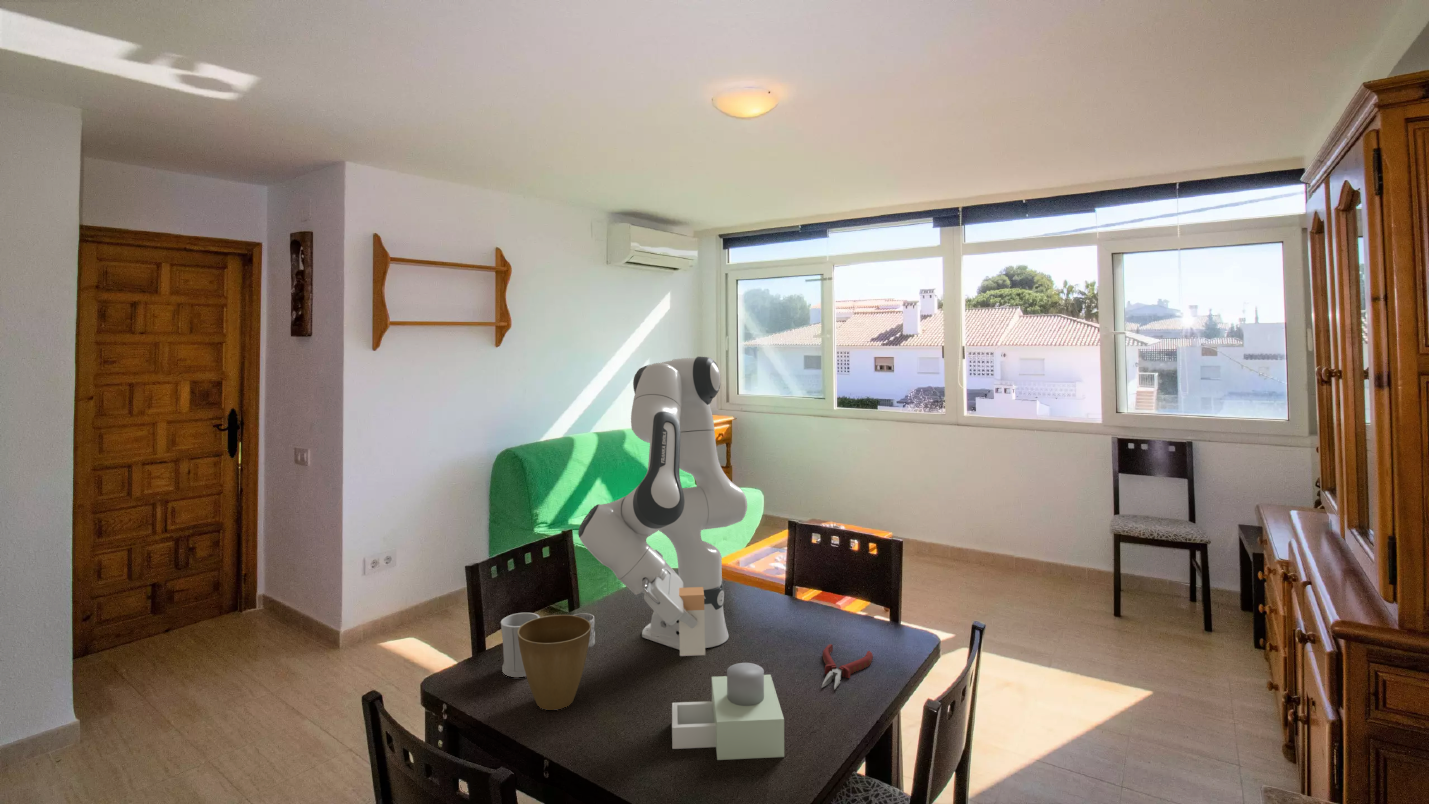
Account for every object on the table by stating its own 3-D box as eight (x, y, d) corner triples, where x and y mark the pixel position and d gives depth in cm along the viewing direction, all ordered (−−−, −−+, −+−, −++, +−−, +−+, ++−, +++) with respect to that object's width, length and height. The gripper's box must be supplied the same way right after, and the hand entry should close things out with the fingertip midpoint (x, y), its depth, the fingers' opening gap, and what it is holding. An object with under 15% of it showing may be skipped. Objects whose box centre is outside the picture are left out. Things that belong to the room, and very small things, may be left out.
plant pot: (525, 728, 130) (522, 648, 129) (515, 693, 144) (513, 620, 143) (600, 711, 136) (598, 634, 135) (584, 679, 150) (582, 609, 149)
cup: (555, 667, 156) (554, 616, 155) (529, 684, 148) (527, 631, 147) (520, 658, 161) (518, 610, 160) (492, 675, 152) (491, 623, 152)
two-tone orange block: (679, 656, 132) (678, 595, 131) (680, 645, 137) (678, 587, 136) (705, 654, 132) (704, 594, 132) (704, 644, 137) (703, 586, 137)
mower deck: (672, 761, 119) (671, 696, 118) (672, 711, 136) (671, 654, 135) (784, 756, 120) (784, 691, 119) (770, 707, 137) (770, 650, 136)
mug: (600, 643, 169) (599, 617, 169) (579, 652, 164) (578, 625, 164) (575, 633, 176) (574, 608, 175) (554, 641, 171) (553, 615, 170)
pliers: (802, 688, 146) (802, 676, 146) (827, 651, 164) (827, 641, 164) (854, 699, 141) (854, 687, 141) (874, 660, 159) (874, 650, 159)
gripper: (653, 576, 123) (707, 626, 124) (657, 547, 144) (704, 591, 144) (629, 600, 123) (684, 651, 124) (637, 569, 143) (683, 612, 144)
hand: (694, 618), depth 134 cm, fingers closed on two-tone orange block, 5 cm apart
